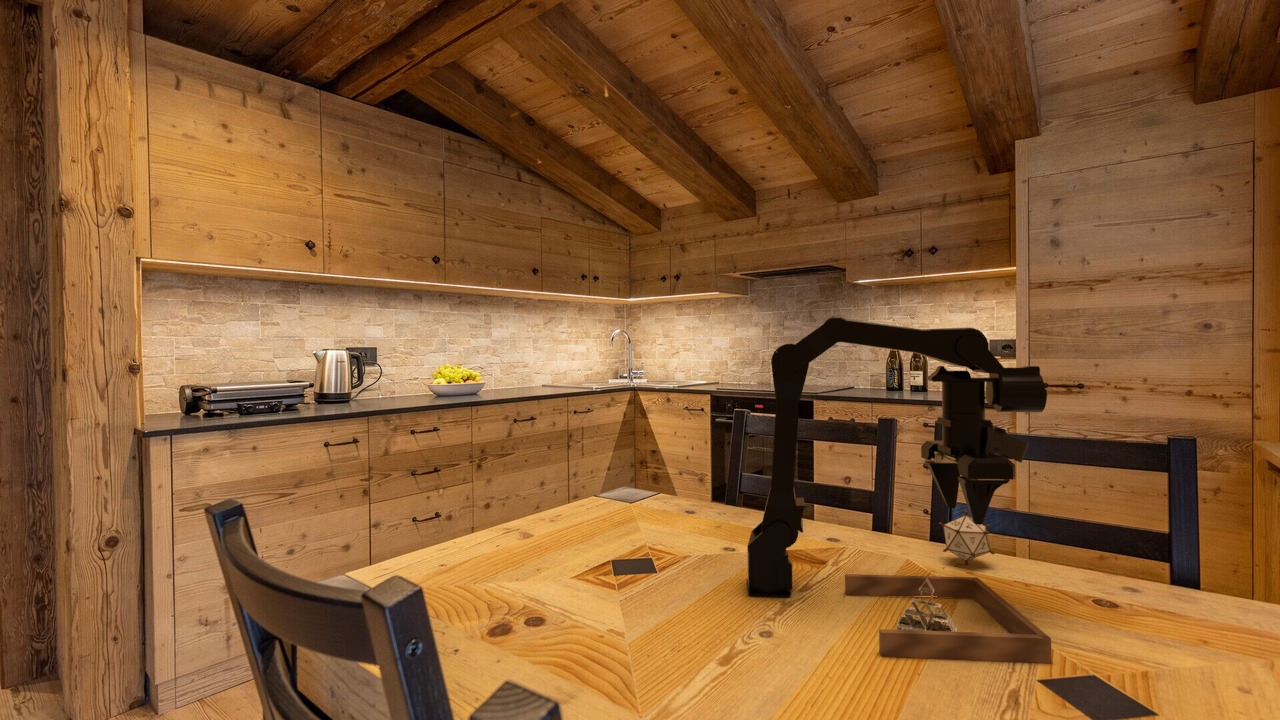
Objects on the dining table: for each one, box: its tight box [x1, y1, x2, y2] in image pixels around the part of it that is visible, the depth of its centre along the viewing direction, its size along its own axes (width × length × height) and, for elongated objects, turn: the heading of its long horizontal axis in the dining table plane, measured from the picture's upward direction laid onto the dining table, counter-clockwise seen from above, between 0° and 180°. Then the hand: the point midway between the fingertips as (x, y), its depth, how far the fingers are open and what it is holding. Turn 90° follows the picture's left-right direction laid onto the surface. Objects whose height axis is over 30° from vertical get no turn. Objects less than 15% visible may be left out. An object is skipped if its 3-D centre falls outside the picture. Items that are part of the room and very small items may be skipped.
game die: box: [938, 509, 996, 566], centre depth 111 cm, size 9×8×10 cm
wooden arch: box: [844, 573, 1052, 664], centre depth 88 cm, size 20×21×3 cm
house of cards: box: [896, 578, 958, 632], centre depth 87 cm, size 9×9×8 cm
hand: (964, 515), depth 94 cm, fingers open, 9 cm apart
